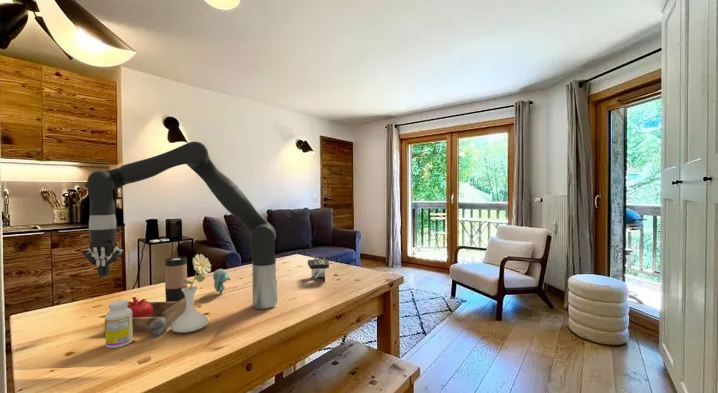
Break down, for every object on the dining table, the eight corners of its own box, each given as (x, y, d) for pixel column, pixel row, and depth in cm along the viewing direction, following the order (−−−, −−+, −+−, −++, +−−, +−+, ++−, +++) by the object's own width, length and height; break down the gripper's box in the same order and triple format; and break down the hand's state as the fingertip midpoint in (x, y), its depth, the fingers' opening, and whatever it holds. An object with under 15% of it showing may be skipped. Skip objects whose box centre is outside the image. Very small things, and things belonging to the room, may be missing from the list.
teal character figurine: (230, 298, 138) (230, 270, 138) (212, 300, 136) (212, 272, 136) (230, 290, 148) (230, 265, 148) (214, 292, 146) (213, 267, 146)
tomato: (158, 320, 114) (157, 295, 114) (126, 330, 106) (126, 303, 106) (145, 315, 120) (144, 290, 119) (113, 324, 111) (113, 298, 111)
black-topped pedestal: (295, 275, 176) (294, 251, 175) (342, 273, 178) (341, 250, 178) (289, 291, 148) (289, 263, 147) (345, 288, 151) (345, 261, 150)
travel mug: (177, 311, 123) (176, 260, 122) (160, 310, 124) (160, 259, 124) (191, 304, 130) (191, 256, 130) (175, 303, 132) (175, 256, 131)
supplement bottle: (115, 339, 100) (114, 299, 99) (137, 338, 100) (136, 298, 100) (99, 349, 93) (99, 306, 93) (123, 348, 93) (123, 305, 93)
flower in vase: (182, 339, 99) (181, 260, 99) (163, 331, 105) (162, 256, 105) (219, 324, 110) (219, 253, 110) (200, 317, 116) (200, 250, 116)
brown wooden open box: (189, 312, 122) (189, 296, 122) (159, 337, 101) (158, 318, 101) (136, 313, 121) (136, 298, 120) (94, 339, 100) (94, 320, 100)
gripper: (129, 226, 116) (129, 273, 116) (91, 226, 115) (92, 273, 115) (115, 228, 108) (115, 278, 108) (74, 229, 107) (75, 279, 108)
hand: (103, 276), depth 112 cm, fingers closed
